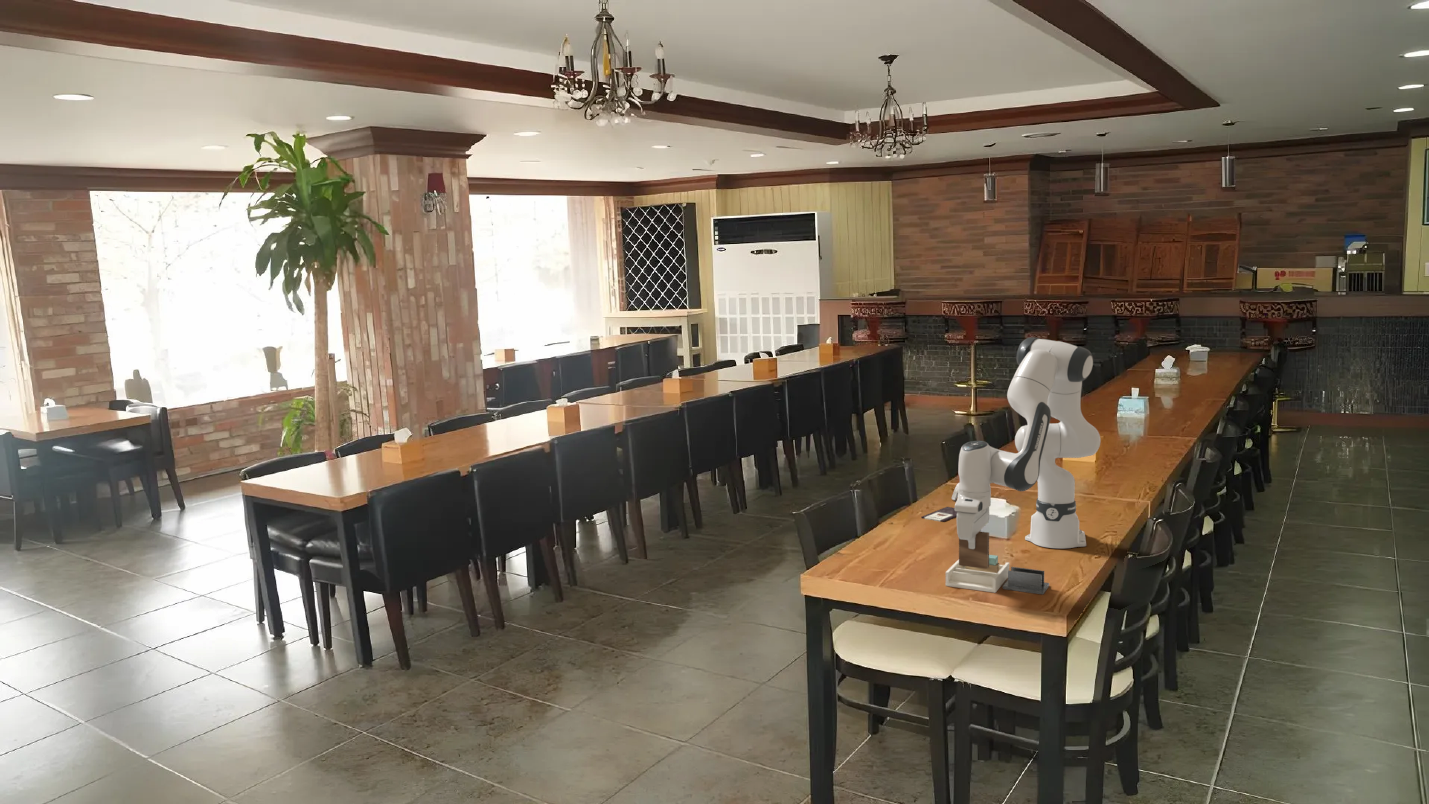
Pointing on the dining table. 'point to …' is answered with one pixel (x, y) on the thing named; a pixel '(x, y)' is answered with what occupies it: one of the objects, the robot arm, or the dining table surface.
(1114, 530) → the dining table surface
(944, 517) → the chocolate bar
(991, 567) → the oak offcut
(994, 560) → the teal offcut
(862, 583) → the dining table surface
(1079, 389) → the robot arm
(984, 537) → the walnut board
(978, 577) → the rack
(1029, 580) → the stand
